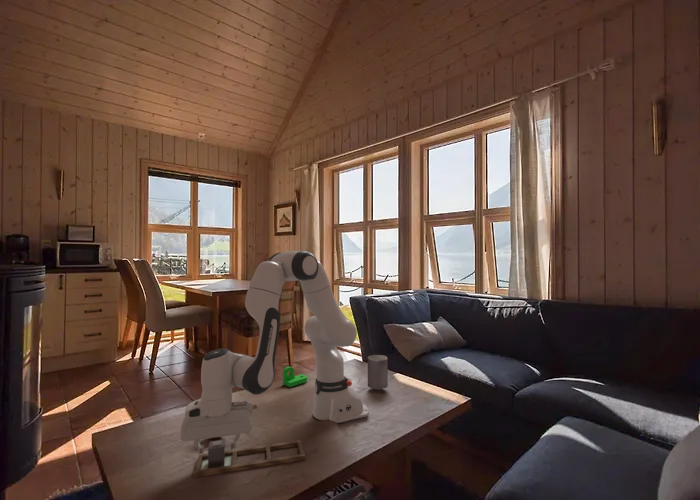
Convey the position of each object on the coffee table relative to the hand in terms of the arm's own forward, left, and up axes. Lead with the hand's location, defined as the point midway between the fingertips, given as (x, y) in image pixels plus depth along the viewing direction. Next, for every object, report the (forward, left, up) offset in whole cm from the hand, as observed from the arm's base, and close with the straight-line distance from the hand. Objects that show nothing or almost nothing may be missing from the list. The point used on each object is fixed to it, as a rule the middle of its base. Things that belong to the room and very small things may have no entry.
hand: (217, 450), depth 110 cm
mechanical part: (-32, -65, -5) cm, 73 cm away
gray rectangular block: (0, 0, -4) cm, 4 cm away
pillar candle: (-69, -48, -5) cm, 84 cm away
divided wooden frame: (-10, 0, -4) cm, 11 cm away
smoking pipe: (-3, -18, -5) cm, 19 cm away
